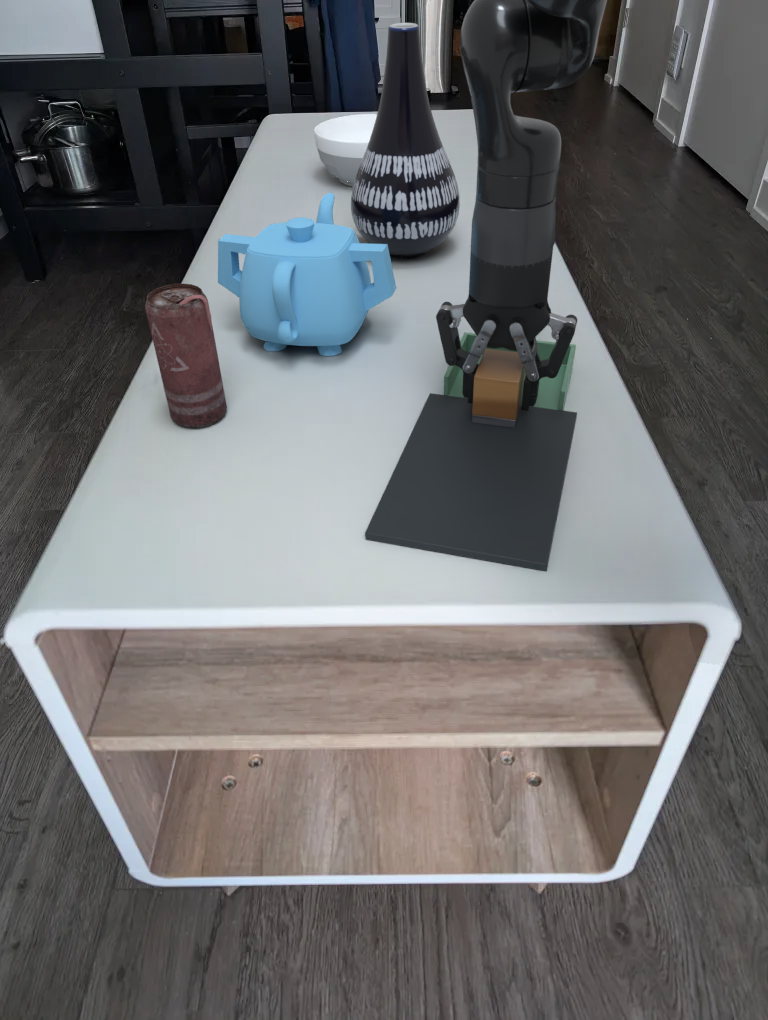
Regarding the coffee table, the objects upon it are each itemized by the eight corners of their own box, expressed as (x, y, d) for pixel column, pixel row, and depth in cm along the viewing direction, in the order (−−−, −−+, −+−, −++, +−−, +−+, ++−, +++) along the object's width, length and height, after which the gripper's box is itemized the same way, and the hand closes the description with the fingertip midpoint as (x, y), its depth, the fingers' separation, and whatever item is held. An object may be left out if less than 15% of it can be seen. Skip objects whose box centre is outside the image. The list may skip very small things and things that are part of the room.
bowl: (307, 169, 152) (303, 120, 146) (401, 158, 156) (400, 109, 150) (332, 201, 138) (328, 147, 133) (434, 187, 142) (435, 135, 137)
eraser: (514, 428, 82) (519, 382, 78) (471, 422, 83) (474, 376, 79) (523, 398, 86) (527, 353, 83) (482, 393, 87) (485, 348, 84)
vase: (477, 242, 122) (488, 19, 103) (423, 280, 112) (424, 41, 93) (390, 223, 129) (386, 11, 110) (332, 257, 119) (316, 30, 100)
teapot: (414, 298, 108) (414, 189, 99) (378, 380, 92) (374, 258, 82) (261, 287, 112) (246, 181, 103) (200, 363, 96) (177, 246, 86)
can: (225, 429, 85) (202, 307, 76) (165, 430, 85) (136, 308, 76) (233, 398, 89) (213, 280, 80) (177, 400, 89) (150, 281, 80)
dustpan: (562, 415, 85) (565, 391, 83) (443, 399, 88) (444, 376, 86) (580, 332, 99) (583, 310, 97) (477, 321, 102) (478, 300, 100)
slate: (546, 571, 67) (547, 564, 66) (365, 539, 71) (364, 532, 70) (576, 418, 84) (577, 411, 84) (429, 399, 88) (429, 392, 88)
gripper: (426, 254, 72) (424, 413, 83) (587, 269, 69) (564, 432, 80) (444, 225, 78) (441, 377, 89) (594, 237, 74) (572, 393, 85)
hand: (499, 402), depth 84 cm, fingers open, 5 cm apart
